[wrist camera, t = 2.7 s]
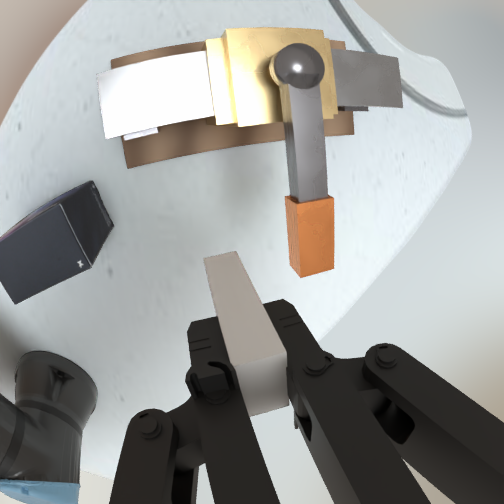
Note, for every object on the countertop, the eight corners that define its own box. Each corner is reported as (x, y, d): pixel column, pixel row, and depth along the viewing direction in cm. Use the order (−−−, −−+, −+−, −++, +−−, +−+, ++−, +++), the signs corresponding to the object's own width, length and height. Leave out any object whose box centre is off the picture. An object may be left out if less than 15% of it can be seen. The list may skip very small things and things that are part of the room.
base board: (129, 166, 29) (127, 168, 27) (113, 62, 23) (110, 59, 22) (347, 133, 33) (354, 134, 32) (338, 43, 28) (344, 41, 27)
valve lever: (265, 49, 15) (276, 41, 13) (309, 49, 15) (323, 43, 14) (287, 265, 22) (297, 278, 20) (323, 256, 22) (336, 268, 20)
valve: (127, 144, 26) (98, 157, 15) (117, 80, 23) (83, 52, 12) (349, 114, 31) (426, 120, 20) (343, 59, 28) (419, 44, 17)
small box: (92, 175, 28) (60, 199, 19) (115, 226, 31) (96, 269, 22) (24, 215, 27) (-19, 251, 18) (47, 261, 30) (15, 308, 21)
